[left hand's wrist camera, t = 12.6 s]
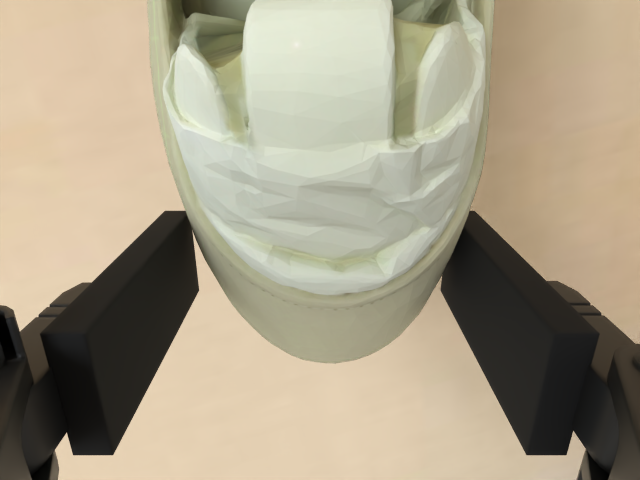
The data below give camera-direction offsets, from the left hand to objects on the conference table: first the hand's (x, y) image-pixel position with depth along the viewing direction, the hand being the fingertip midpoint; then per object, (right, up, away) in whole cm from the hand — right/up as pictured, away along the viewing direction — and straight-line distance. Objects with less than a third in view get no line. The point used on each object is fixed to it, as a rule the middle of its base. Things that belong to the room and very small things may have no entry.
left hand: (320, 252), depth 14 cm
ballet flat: (0, +8, -2) cm, 8 cm away
